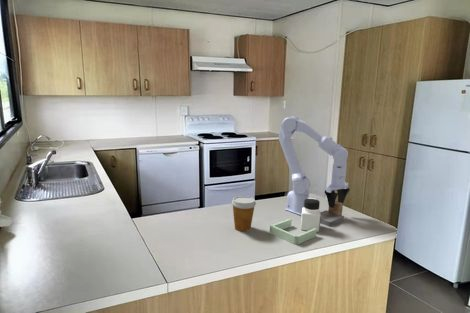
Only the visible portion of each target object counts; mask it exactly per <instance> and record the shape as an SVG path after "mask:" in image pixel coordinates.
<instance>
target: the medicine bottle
mask: <svg viewBox="0 0 470 313" xmlns="http://www.w3.org/2000/svg"><path fill="white" fill-rule="evenodd" d="M320 204H321V202H320V200H319V199H318V198H317V199H316V198H313V197H309V198H307V199H305V200H304V208H302V215H300V217H301V218H300V230H302V231H309V230H311V229H314V228H315V229H317V231H316V233H319V232H320V226H321V223H320V217H321V215H320V212H321V210H320Z"/></svg>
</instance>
